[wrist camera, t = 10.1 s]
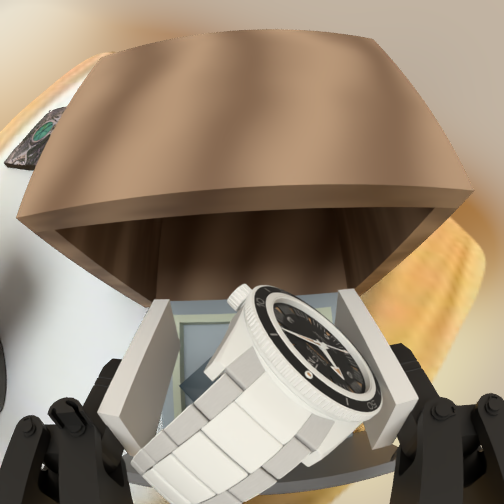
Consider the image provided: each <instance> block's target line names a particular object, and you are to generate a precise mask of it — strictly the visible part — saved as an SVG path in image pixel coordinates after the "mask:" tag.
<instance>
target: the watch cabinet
mask: <svg viewBox="0 0 504 504" xmlns="http://www.w3.org/2000/svg"><path fill="white" fill-rule="evenodd" d="M473 191H474V189H473V186H472V184H471V182H470V180H469V178H468V176H467V174H466V171H465V169H464V168H463V165H462V164H461V162H460V160H459V158H458V156H457V154H456V152H455V150H454V149H453V147H452V145H451V143H450V141H449V140H448V138H447V136H446V135H445V133H444V131H443V130H442V128H441V126H440V125H439V123H438V122H437V120H436V118H435V117H434V115H433V114H432V112H431V111H430V109H429V108H428V106H427V105H426V104H425V102H424V100H423V99H422V98H421V96H420V95H419V93H418V92H417V91H416V90H415V88H414V87H413V85H412V84H411V83H410V81H409V80H408V79H407V78H406V76H405V75H404V74H403V73H402V71H401V70H400V69H399V68H398V66H397V65H396V64H395V63H394V62H393V61H392V60H391V58H390V57H389V56H388V55H387V54H386V53H385V51H384V50H383V49H382V48H381V47H380V46H379V45H378V44H377V43H376V42H375V41H374V40H373V39H370V38H365V37H359V36H353V35H346V34H338V33H329V32H319V31H305V30H279V29H275V30H274V29H273V30H272V29H266V30H239V31H227V32H216V33H208V34H200V35H192V36H186V37H180V38H174V39H170V40H164V41H160V42H155V43H151V44H146V45H142V46H138V47H135V48H131V49H127V50H124V51H121V52H117V53H114V54H111V55H108V56H105V57H102V58H100V60H99V61H98V62H97V63H96V65H95V66H94V67H93V69H92V70H91V72H90V73H89V74H88V76H87V77H86V79H85V80H84V81H83V83H82V84H81V86H80V87H79V89H78V90H77V92H76V93H75V95H74V96H73V98H72V100H71V101H70V103H69V104H68V106H67V108H66V109H65V111H64V113H63V114H62V116H61V118H60V119H59V121H58V123H57V125H56V127H55V128H54V130H53V132H52V134H51V136H50V138H49V140H48V142H47V144H46V146H45V148H44V150H43V152H42V154H41V156H40V158H39V160H38V163H37V165H36V167H35V169H34V172H33V174H32V176H31V179H30V181H29V184H28V186H27V189H26V191H25V194H24V197H23V199H22V202H21V205H20V208H19V211H18V214H17V217H16V218H17V219H18V220H19V221H20V222H21V223H23V224H24V225H25V226H26V227H28V228H29V229H30V230H31V231H33V232H34V233H35V234H36V235H38V236H39V237H40V238H42V239H43V240H44V241H46V242H47V243H48V244H50V245H51V246H52V247H54V248H55V249H56V250H58V251H59V252H60V253H62V254H63V255H65V256H66V257H67V258H69V259H70V260H72V261H73V262H74V263H76V264H77V265H79V266H80V267H82V268H83V269H85V270H86V271H88V272H89V273H91V274H92V275H94V276H95V277H97V278H98V279H100V280H101V281H103V282H104V283H106V284H107V285H109V286H111V287H112V288H114V289H115V290H117V291H119V292H120V293H122V294H123V295H125V296H127V297H128V298H130V299H132V300H133V301H135V302H137V303H138V304H140V305H142V306H144V307H150V306H151V304H152V302H153V301H154V299H170V301H198V300H227V299H228V298H229V296H230V295H231V294H232V293H233V292H234V291H235V290H236V289H237V288H238V287H239V286H241V285H243V284H246V285H247V286H249V287H250V288H251V289H252V290H253V288H255V287H257V286H259V285H269V286H274V287H277V288H279V289H282V290H284V291H287V292H289V293H291V294H293V295H295V296H298V295H311V294H323V293H335V292H338V290H343V289H355V291H356V293H357V294H358V296H361V295H362V294H363V293H365V292H366V291H367V290H368V289H370V288H371V287H372V286H373V285H375V284H376V283H377V282H378V281H379V280H381V279H382V278H383V277H384V276H385V275H387V274H388V273H389V272H390V271H391V270H392V269H394V268H395V267H396V266H397V265H398V264H399V263H401V262H402V261H403V260H404V259H405V258H406V257H407V256H409V255H410V254H411V253H412V252H413V251H414V250H415V249H416V248H417V247H418V246H420V245H421V244H422V243H423V242H424V241H425V240H426V239H427V238H428V237H429V236H430V235H431V234H432V233H433V232H434V231H435V230H436V229H438V228H439V227H440V226H441V225H442V224H443V223H444V222H445V221H446V220H447V219H448V218H449V217H450V216H451V214H453V213H454V212H455V210H456V209H457V208H458V207H459V206H460V205H461V204H462V203H463V202H464V201H465V200H466V199H467V198H468V197H469V196H470V195H471V193H472V192H473Z"/></svg>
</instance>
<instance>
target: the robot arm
mask: <svg viewBox="0 0 504 504" xmlns="http://www.w3.org/2000/svg"><path fill="white" fill-rule="evenodd" d="M335 326H336V327H337V328H338V329H339V330H340V331H341V332H342V333H343V334H344V335H345V336H346V337H347V338H348V339H349V340H350V341H351V342H352V343H353V345H354V346H355V347H356V348H357V349H358V351H359V352H360V353H361V354H362V356H363V357H364V358H365V360H366V361H367V363H368V364H369V366H370V367H371V369H372V371H373V373H374V374H375V376H376V378H377V381H378V383H379V386H380V389H381V392H382V398H383V403H382V407H381V410H380V411H379V412H378V413H377V414H376V415H375V416H373V417H372V418H371V419H369V420H367V421H364V422H363V423H364V426H365V429H366V432H367V435H368V438H369V442H370V445H371V448H372V450H374V449H378V448H381V447H385V446H389V445H392V443H393V442H394V440H395V439H396V437H397V438H398V440H399V443H400V445H399V447H398V448H397V450H396V451H395V453H394V454H393V455H392V457H391V460H390V461H392V462H393V461H394V459H395V458H396V464H395V472H394V479H393V487H392V492H391V498H390V504H504V400H503V399H502V398H501V397H500V396H498V395H496V394H492V393H489V394H485V395H483V396H481V398H480V399H479V401H478V402H477V404H474V405H462V406H456V405H455V404H454V403H453V402H452V401H451V400H449V399H447V398H443V397H439V395H438V394H437V392H436V390H435V389H434V387H433V385H432V384H431V382H430V380H429V379H428V377H427V375H426V374H425V372H424V370H423V369H421V366H420V364H419V362H418V361H417V359H416V358H415V356H414V355H413V353H412V352H411V350H410V349H408V348H407V347H406V346H404V345H403V344H402V343H399V344H394V345H389V344H388V343H387V341H386V339H385V337H384V336H383V334H382V332H381V331H380V329H379V328H378V326H377V324H376V323H375V321H374V319H373V318H372V316H371V315H370V313H369V311H368V310H367V308H366V307H365V305H364V303H363V302H362V300H361V299H360V297H359V296H358V294H357V293H356V291H355V289H343V290H338V297H337V307H336V316H335ZM180 347H181V344H180V341H179V337H178V333H177V329H176V325H175V321H174V317H173V312H172V308H171V304H170V299H154V301H153V302H152V304H151V306H150V308H149V310H148V311H147V313H146V315H145V317H144V319H143V321H142V323H141V324H140V326H139V328H138V330H137V332H136V334H135V336H134V338H133V340H132V341H131V343H130V345H129V347H128V349H127V351H126V353H125V355H124V357H123V359H112V360H110V361H109V362H108V363H107V364H106V365H105V366H104V367H103V369H102V371H101V372H100V374H99V378H97V380H96V382H95V386H93V388H92V389H91V391H90V393H89V395H88V397H87V399H86V401H85V403H84V405H83V406H82V405H81V404H80V402H79V401H78V400H76V399H74V398H68V397H66V398H62V399H59V400H58V401H56V402H54V403H53V404H52V406H51V407H50V408H49V411H48V415H49V416H50V418H51V419H52V420H53V421H54V423H55V425H44V424H43V422H42V421H41V420H40V419H39V418H38V417H36V416H34V415H29V416H26V417H23V418H22V419H21V420H20V421H19V422H18V424H17V425H16V428H15V430H14V433H13V435H12V438H11V440H10V443H9V445H8V448H7V451H6V454H5V456H4V459H3V462H2V465H1V468H0V504H133V501H132V496H131V492H130V487H129V481H128V476H127V470H126V464H125V461H124V459H123V458H122V454H123V450H124V449H125V450H126V452H127V453H128V454H129V455H130V456H133V457H134V456H135V455H136V454H137V453H138V451H139V450H140V449H142V448H143V447H144V446H146V445H147V444H148V443H149V442H150V441H151V440H152V439H153V438H154V437H155V435H156V431H157V428H158V424H159V420H160V416H161V413H162V409H163V405H164V402H165V398H166V395H167V391H168V388H169V384H170V381H171V377H172V374H173V370H174V367H175V364H176V360H177V357H178V353H179V350H180ZM5 390H6V372H5V362H4V355H3V350H2V346H1V342H0V411H1V409H2V407H3V403H4V399H5ZM480 445H481V446H482V448H481V446H480ZM42 463H43V464H44V465H45V466H44V468H43V469H41V467H42Z"/></svg>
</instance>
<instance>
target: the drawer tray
mask: <svg viewBox="0 0 504 504" xmlns="http://www.w3.org/2000/svg"><path fill="white" fill-rule="evenodd" d="M296 297H298V298H300V299H301V300H303V301H305V302H306V303H308V304H309V305H310V306H312V307H313V308H315V309H316V310H317V311H319V312H320V313H321V314H322V315H324V316H325V317H326V318H327V319H328V320H329V321H331V322H332V323H333V324H334V325H335V316H336V307H337V297H338V292H335V293H323V294H311V295H298V296H296ZM227 300H228V299H227ZM227 300H198V301H170V304H171V308H172V312H173V317H174V321H175V325H176V329H177V333H178V337H179V341H180V344H181V347H180V350H179V353H178V357H177V360H176V364H175V367H174V370H173V374H172V377H171V381H170V384H169V388H168V391H167V395H166V398H165V402H164V405H163V409H162V420H163V429H164V428H166V427H167V426H168V425H169V424H170V423H171V422H172V421H173V420H174V419H175V418H176V417H177V416H179V415H180V414H181V413H182V412H183V411H184V410H185V409H186V408H187V407H188V406H189V405H190V404H192V403H193V404H194V402H193V401H192V400H191V399H190V398H189V397H188V396H187V394H186V393H185V392H184V391H183V390H182V389H181V388H180V387H179V385H180V384H181V383H182V382H184V381H185V380H186V379H187V378H188V377H189V376H190V375H192V374H193V373H194V372H195V371H196V370H197V369H198V368H199V367H200V366H202V365H203V364H204V363H205V362H206V361H207V360H208V359H209V358H210V357H212V356H213V355H214V353H215V351H216V350H217V348H218V346H219V345H220V343H221V342H222V340H223V338H224V336H225V334H226V332H227V330H228V328H229V324H230V321H231V320H232V318H233V317H234V315H235V314H236V313H237V312H238V311H237V312H236V311H235V310H234V309H233V308H232V307H231V306H230V305H229V304H228V303H227ZM397 448H398V447H397V446H395V445H393V444H392V445H389V446H385V447H381V448H378V449H374V450H372V448H371V445H370V442H369V438H368V435H367V432H366V431H361V432H357V433H353V432H352V433H351V434H350V435H349V436H348V437H347V438H346V439H345V440H344V441H343V442H342V443H340V444H339V445H338V446H337V447H336V448H335V449H334V450H332V451H331V452H330V453H329V454H328V455H327V456H325V457H324V458H323V459H322V460H320V461H318V462H317V463H315V464H313V465H311V466H310V467H307V466H306V465H305V464H303V463H302V462H300V463H299V464H298V465H297V466H296V467H295V468H293V469H292V470H291V471H290V472H288V473H287V474H286V475H285V476H283V477H282V478H280V479H277V478H276V480H277V482H276V483H275V484H274V485H272V486H271V487H269V488H268V489H266V490H265V491H263V492H262V493H260V494H258V495H271V494H285V493H295V492H304V491H311V490H318V489H324V488H330V487H335V486H340V485H345V484H350V483H354V482H358V481H362V480H366V479H370V478H374V477H377V476H381V475H384V474H388V473H391V472H394V471H395V464H396V458H395V459H394V461H393V462H392V461H390V460H391V457H392V455H393V454H394V453H395V451H396V450H397ZM122 458H123V459H124V461H125V464H126V470H127V476H128V481H129V483H133V484H137V485H142V486H147V487H152V486H151V485H150V484H149V483H148V482H147V481H146V480H145V479H144V478H143V477H142V476H141V475H140V474H139V473H138V472H137V471H136V470H135V469H134V467H133V466H132V465H131V461H132V460H133V456H130V455H129V454H128V453H127V454H126V455H124V456H122ZM261 467H262V466H261ZM262 468H263V467H262ZM263 469H264V468H263ZM267 472H268V471H267ZM268 473H269V472H268ZM272 476H273V475H272ZM152 488H153V487H152Z"/></svg>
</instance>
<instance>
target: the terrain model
mask: <svg viewBox="0 0 504 504" xmlns="http://www.w3.org/2000/svg"><path fill="white" fill-rule="evenodd" d="M66 108H67V107H62V108H57V109H55V110H53V111H51V110H50V111H51V112H50V111H49V113H48V114H46V115H45V116H44V117H43V118H42V119H41V121H39V123H37V124H36V126H35V127H34V128H33V129H32V130H31V131H30V133H28V135H27V136H26V137H25V138H24V139H23V141H22V142H21V143H20V144H19V145H18V146H17V147H16V148H15V149H14V150H13V151H12V153H11V154H10V155H9V157H8V158H7V159H6V161H5V162H4V164H5V165H6V166H7V167H10V168H17V169H25V170H34V169H35V167H36V165H37V163H38V160H39V158H40V156H41V154H42V152H43V150H44V148H45V146H46V144H47V142H48V140H49V138H50V136H51V134H52V132H53V130H54V128H55V127H56V125H57V123H58V121H59V119H60V118H61V116H62V114H63V113H64V111H65V109H66Z"/></svg>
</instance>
